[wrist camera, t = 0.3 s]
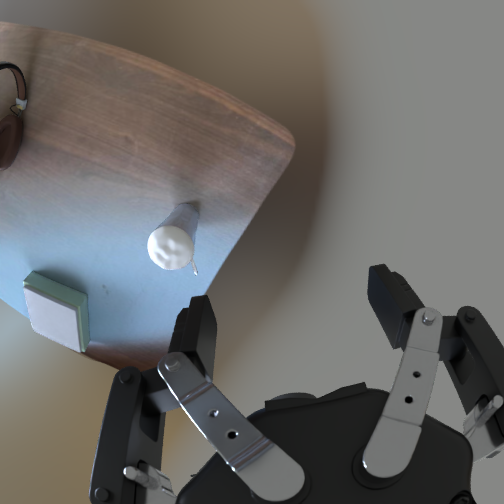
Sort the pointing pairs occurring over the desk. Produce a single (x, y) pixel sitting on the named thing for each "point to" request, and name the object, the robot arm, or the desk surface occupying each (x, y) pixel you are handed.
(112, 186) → the desk surface
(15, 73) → the headphones
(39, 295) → the scale
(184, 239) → the milkshake
